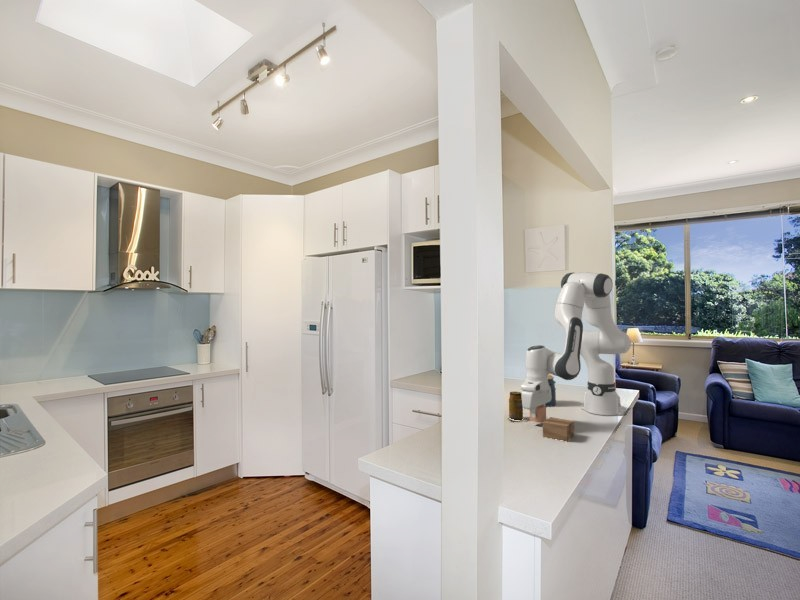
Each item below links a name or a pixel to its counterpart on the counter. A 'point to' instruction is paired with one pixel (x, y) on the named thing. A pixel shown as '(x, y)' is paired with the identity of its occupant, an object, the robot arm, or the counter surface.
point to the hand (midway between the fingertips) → (538, 415)
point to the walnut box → (558, 429)
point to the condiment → (516, 406)
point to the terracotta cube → (539, 414)
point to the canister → (552, 391)
